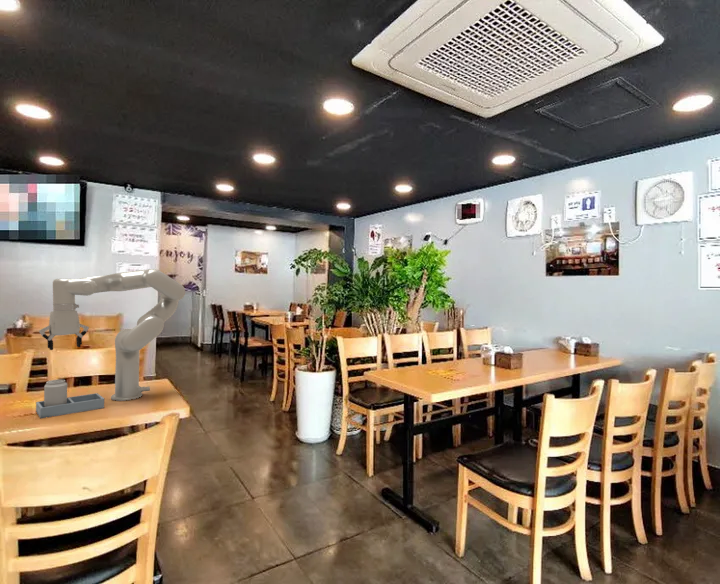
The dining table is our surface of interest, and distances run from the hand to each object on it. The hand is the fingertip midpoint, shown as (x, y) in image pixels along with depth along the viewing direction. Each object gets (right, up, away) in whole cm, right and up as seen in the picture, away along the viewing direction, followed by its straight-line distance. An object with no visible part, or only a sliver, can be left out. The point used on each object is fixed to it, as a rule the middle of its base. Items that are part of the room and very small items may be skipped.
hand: (65, 348), depth 173 cm
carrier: (+5, -25, -4) cm, 26 cm away
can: (+2, -24, -8) cm, 26 cm away
